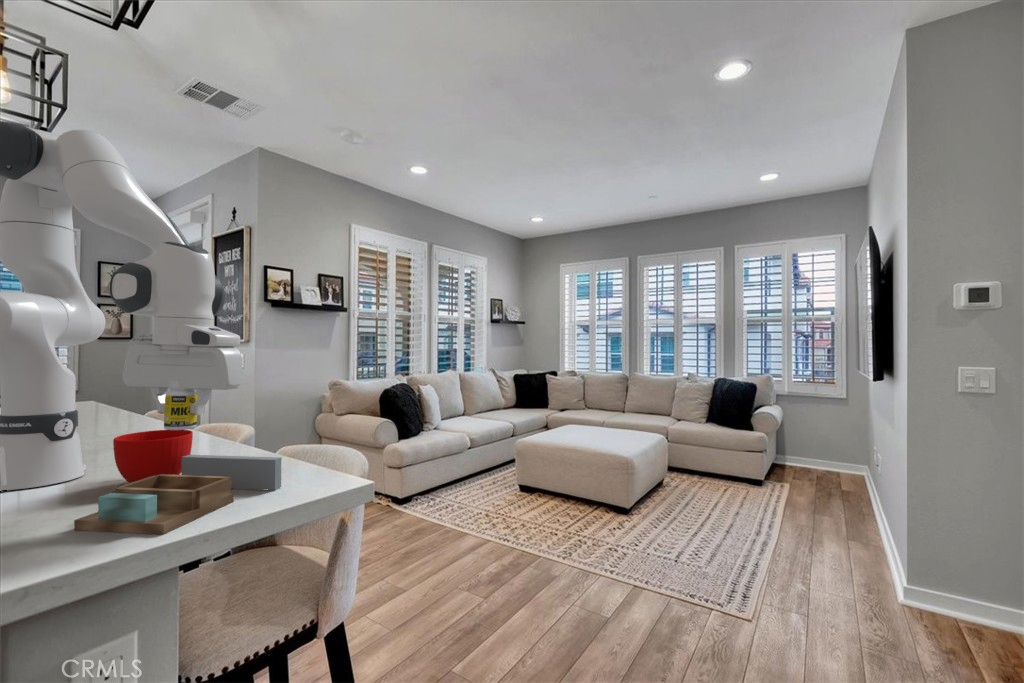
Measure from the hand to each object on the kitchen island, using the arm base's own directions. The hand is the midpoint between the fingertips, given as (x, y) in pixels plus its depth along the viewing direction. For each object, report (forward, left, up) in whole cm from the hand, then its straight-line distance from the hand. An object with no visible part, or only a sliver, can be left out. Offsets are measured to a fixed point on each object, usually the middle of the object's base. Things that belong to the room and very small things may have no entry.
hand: (181, 413), depth 82 cm
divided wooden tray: (0, -4, -16) cm, 17 cm away
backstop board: (+1, +12, -16) cm, 20 cm away
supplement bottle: (0, 0, -3) cm, 3 cm away
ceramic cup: (-18, +13, -17) cm, 28 cm away
